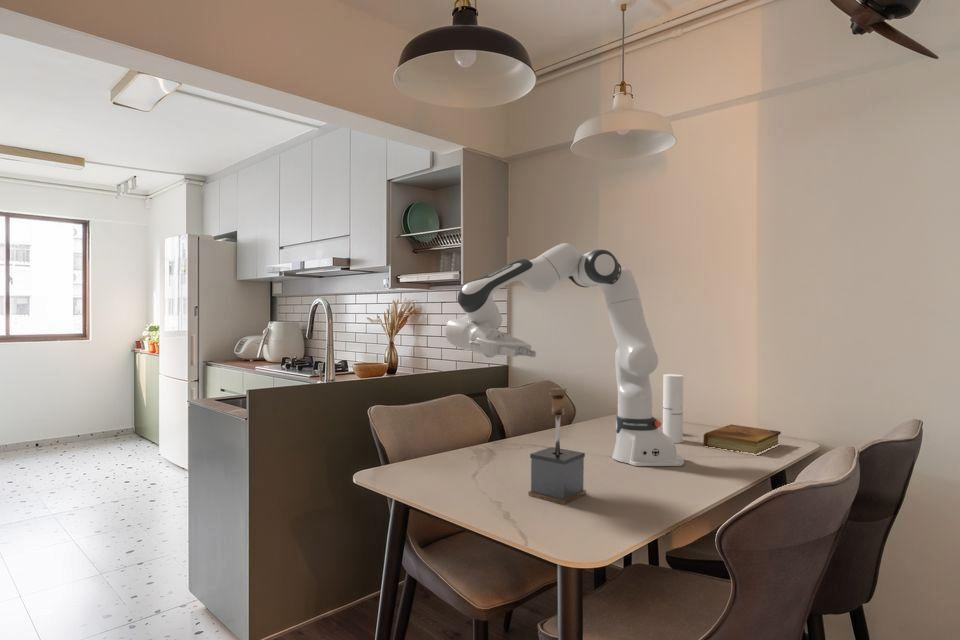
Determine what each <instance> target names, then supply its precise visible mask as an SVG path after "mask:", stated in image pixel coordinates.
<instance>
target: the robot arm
mask: <svg viewBox="0 0 960 640" xmlns="http://www.w3.org/2000/svg"><path fill="white" fill-rule="evenodd" d="M566 279H569V280H570V281H571V282H572V283H574V284H575V285H576V286H578V287H581V288H590V287H597V286H598V287H600V289H601V290H602V291H603V294H604V298H605V304H606V307H607V313H608V319H609V322H610V327H611V329H612V330H611V331H612V332H613V333H612V334H613V336H614V338H615V341H616V343H617V344H616V345H617V347H616V350H615V353H614V359H615V360H614V362H615V365H614V366H615V376H616V377H615V378H616V385H617V386H616V387H617V388H616V389H617V415H616V417H615V418H616V419H615V432H616V436H615V437H616V438H615V445H614V449H613V453H612V455H611V457H612V459H613V460H614V461H618V462H621V463H625V464H629V465H632V466H636V467H681V466H683V465H684V464H685V461H684V458H683V457H682V455H679V454H677V449H676V448H677V447H676V443H674V442H673V441H672V440H671V439H670V438H669V437H668V436H666V435H665V434H664V433H663V431H662V430H661V429H660V427H661V426H662V422H661V420H659V419H657V418H656V417H654V416H653V391H652V387H651V380H650V374H652V373H653V372H654V371H655V370H656V369H657V366H658V365H659V364H658V363H659V358H658V354H657V351H656V349H655V346H654V342H653V339H652V335H651V334H650V331H649V328H648V326H647V322H646V319H645V313H644V309H643V306H642V305H643V304H642V300H641V295H640V292H639V288H638V284H637V282H636V279H635V276H634V275H633V272H632V271H631V270H630V269H629V268H627V267H622V266H621V264H620V263H619V262H618V260H617V257H616V256H615V255H614V254H613V253H612V252H610V251H609V250H605V249H595V250H592V251H589V252H588V251H587V252H586V253H584V254H581V253H580V252H578V250H577V248H576V247H575V246H574V245H572V244H570V243H567V242H564V243H559V244H558V245H555V246H553V247H552V248H549V249H548V250H546V251H544V252H543V253H542V254H540V255H539V256H537V257H535V258H533V259H527V258H521V259H517V260H515V261H512V262H511V263H508V264H506V265H504V266H502V267H500V268H498V269H496V270H494V271H492V272H490V273H488V274H486V275H484V276H482V277H479V278H476V279H473V280H471V281H468V282H466V283H465V284H463V285H462V287H460V290H459V292H458V294H457V302H458V304H459V306H460V307H461V308H462V310H463V312H464V313H465V314H466V315H464V316H462V317H459V318H451V319H450V320H448V321H447V323H446V327H445V328H444V329H445V330H444V331H445V333H444V335H445V337H446V340H447V342H449V343H450V344H451V345H453V346H455V347H457V348H460V349H462V350H464V351H467V352H468V351H471V352H472V353H474V354H476V355H479V356H481V357H485V358H488V359H492V358H494V357H497V356H509V357H512V358H513V357H530V358H536V355H537V351H536V350H533V349H532V345H531V344H530V343H528V342H526V341H524V340H522V339H519V338H516V337H513V336H512V334H510V333H507V332H502V331H501V330H499V328H500V326H501V325H502V321H503V316H502V314H501V312H500V310H499V308H498V305H496V302H495V300H494V298H493V295H494V292H496V291H498V290H500V289H501V288H503V287H506V286H507V285H509V284H511V283H514V282H516V281H517V282H518V281H519V282H522V284H524V285H525V286H526V287H527V288H529V289H530V290H532V291H534V292H538V293H546V292H548V291H551V290H552V289H553V288H555V287H556V286H558V285H559V284H561V283H562V282H563V281H564V280H566Z"/></svg>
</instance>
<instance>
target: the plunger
mask: <svg viewBox="0 0 960 640" xmlns="http://www.w3.org/2000/svg"><path fill="white" fill-rule="evenodd" d="M567 391H568V390H567V388H564V387H563V388H559V387H553V388H552V387H551V388H549V396H550V397H551V415H554V416H555V443H554V445H555V447H554V448H555V454H556V455H560V449H561V416H564V415H565V397H566V396H567Z"/></svg>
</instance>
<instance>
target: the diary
mask: <svg viewBox="0 0 960 640" xmlns="http://www.w3.org/2000/svg"><path fill="white" fill-rule="evenodd" d="M781 433H782V432H781V431H780V430H779V431H778V430H772V429H767V428H766V429H765V428H759V427H752V426H744V425H738V424H729V425H726V426H722V427H720V428H719V427H718V428H717V429H714V430H711V431H707V432H705V433H704V434H703V447H704V446H708V447H707V448H709V447H715V448H721V449H727V450H733V451H739V452H741V451H742V452H748V453H754V454H757V453H759V452H762V451H764V450H766V449H768V448H771V447H772V446H775V445H777V444H779V435H781Z"/></svg>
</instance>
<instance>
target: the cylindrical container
mask: <svg viewBox="0 0 960 640" xmlns="http://www.w3.org/2000/svg"><path fill="white" fill-rule="evenodd" d="M662 379H663V385H662V391H663V392H662V432H663V433H664V434H665V435H666V436H668V437H669V438H670V439H671V440H672V441H673V442H674V444H682V443H683V433H684V430H683V427H684V426H683V425H684V423H683V421H684V375H683V374H678V373H677V374H676V373H675V374H674V373H673V374H672V373H665V374H663V378H662ZM681 442H682V443H681Z"/></svg>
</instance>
